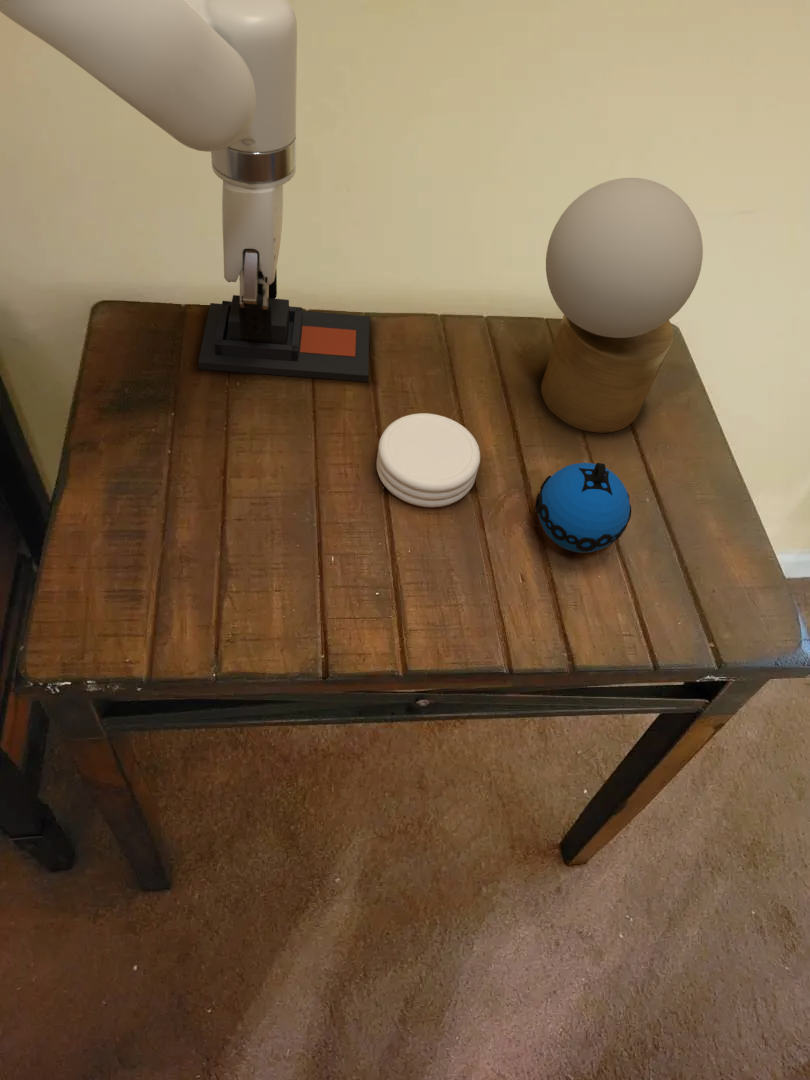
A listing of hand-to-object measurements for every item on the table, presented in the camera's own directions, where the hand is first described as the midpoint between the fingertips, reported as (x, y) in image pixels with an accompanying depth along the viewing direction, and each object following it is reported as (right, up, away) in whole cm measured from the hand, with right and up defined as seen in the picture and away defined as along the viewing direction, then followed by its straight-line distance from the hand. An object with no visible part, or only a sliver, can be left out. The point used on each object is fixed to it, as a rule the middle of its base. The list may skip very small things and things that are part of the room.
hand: (259, 314), depth 88 cm
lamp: (+34, -9, +4) cm, 36 cm away
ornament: (+32, -24, -8) cm, 40 cm away
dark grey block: (0, -2, +2) cm, 3 cm away
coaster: (+18, -17, -5) cm, 25 cm away
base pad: (+3, -3, +3) cm, 5 cm away
